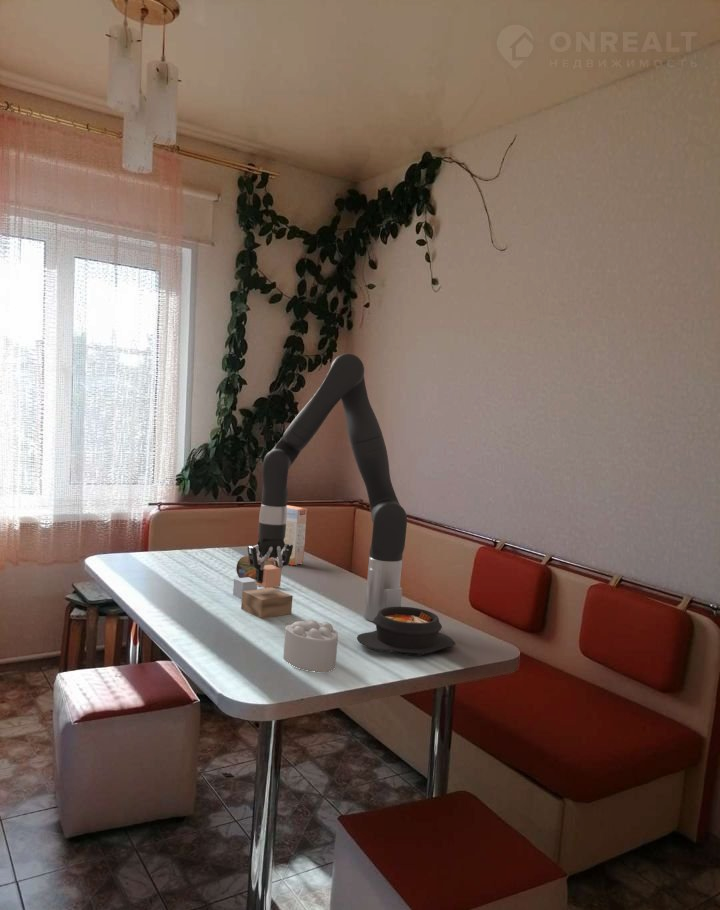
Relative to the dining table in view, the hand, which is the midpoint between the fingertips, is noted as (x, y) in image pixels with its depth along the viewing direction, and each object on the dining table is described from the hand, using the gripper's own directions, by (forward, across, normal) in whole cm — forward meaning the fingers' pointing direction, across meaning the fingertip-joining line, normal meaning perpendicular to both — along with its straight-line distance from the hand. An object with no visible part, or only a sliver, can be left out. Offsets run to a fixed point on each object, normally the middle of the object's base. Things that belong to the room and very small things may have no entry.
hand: (268, 581), depth 197 cm
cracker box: (+9, +41, +50) cm, 65 cm away
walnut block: (+8, 0, 0) cm, 8 cm away
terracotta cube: (+1, 0, 0) cm, 1 cm away
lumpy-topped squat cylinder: (+9, -13, -38) cm, 41 cm away
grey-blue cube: (+9, +3, +16) cm, 18 cm away
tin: (+9, +15, +28) cm, 33 cm away
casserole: (+8, +14, -41) cm, 44 cm away
